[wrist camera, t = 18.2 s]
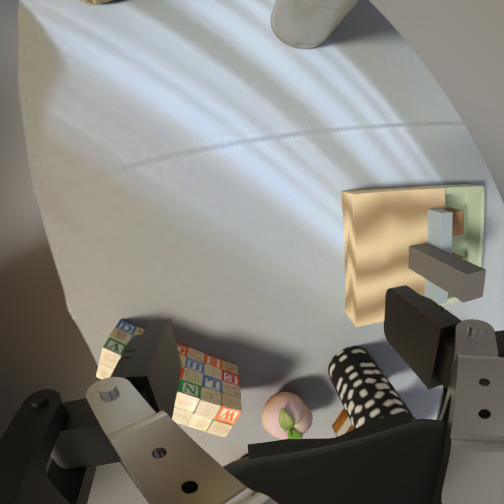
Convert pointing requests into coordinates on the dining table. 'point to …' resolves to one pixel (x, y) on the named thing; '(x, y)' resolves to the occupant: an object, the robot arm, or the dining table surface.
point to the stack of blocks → (188, 383)
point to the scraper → (444, 263)
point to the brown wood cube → (457, 221)
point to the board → (383, 244)
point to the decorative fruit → (286, 416)
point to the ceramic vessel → (93, 1)
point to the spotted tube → (363, 387)
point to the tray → (467, 222)
